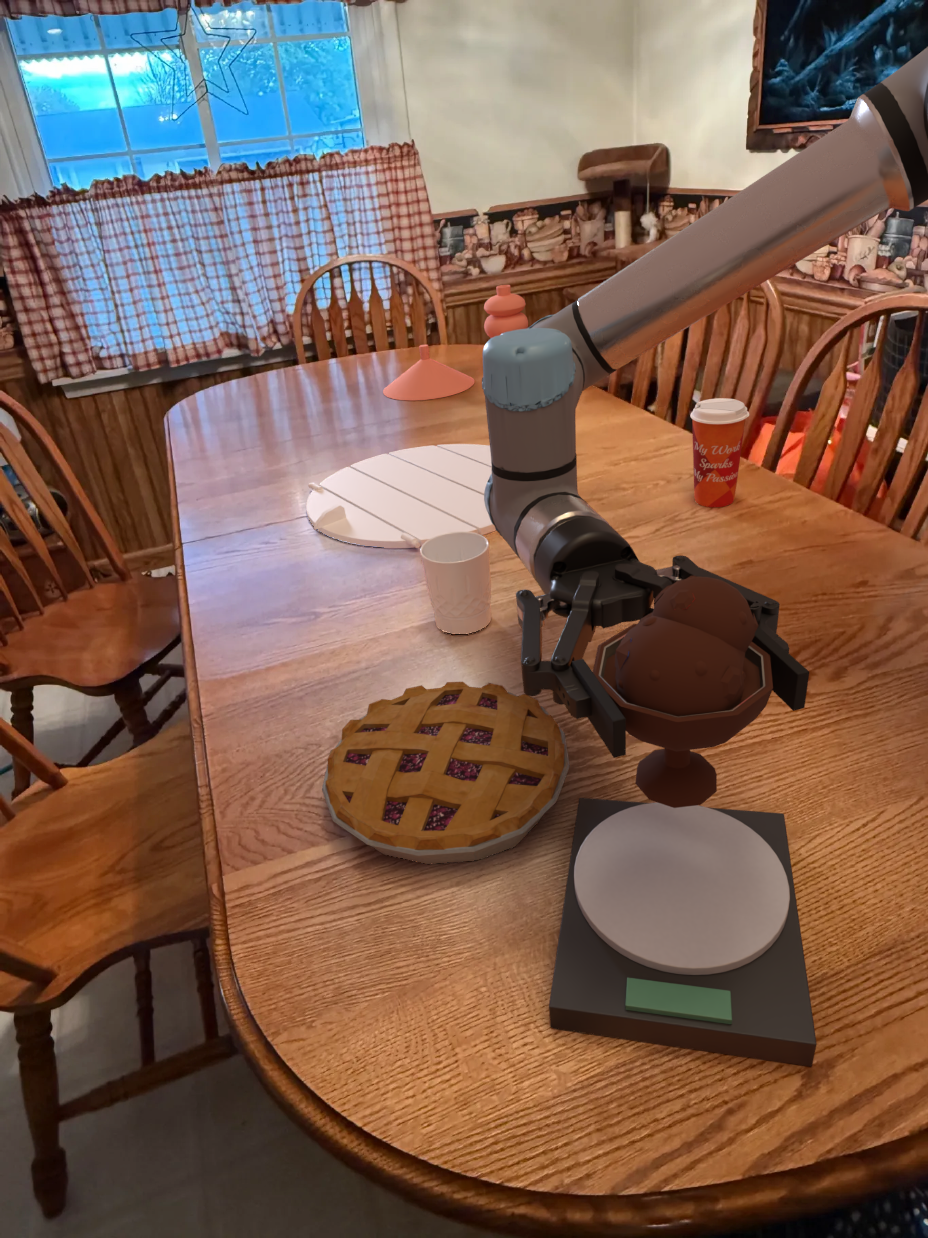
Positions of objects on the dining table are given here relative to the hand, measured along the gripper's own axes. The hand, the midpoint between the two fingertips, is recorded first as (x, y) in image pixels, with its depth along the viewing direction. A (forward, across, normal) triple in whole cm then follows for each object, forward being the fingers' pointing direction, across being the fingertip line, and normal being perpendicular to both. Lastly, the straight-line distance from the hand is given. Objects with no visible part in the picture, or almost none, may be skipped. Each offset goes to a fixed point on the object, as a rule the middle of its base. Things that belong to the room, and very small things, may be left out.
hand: (712, 715), depth 48 cm
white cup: (-49, +5, -20) cm, 53 cm away
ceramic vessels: (-151, -21, -20) cm, 154 cm away
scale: (-2, +1, -20) cm, 20 cm away
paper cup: (-66, -38, -20) cm, 79 cm away
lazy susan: (-89, +1, -20) cm, 91 cm away
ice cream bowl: (-4, 0, -9) cm, 10 cm away
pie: (-21, +13, -20) cm, 32 cm away
